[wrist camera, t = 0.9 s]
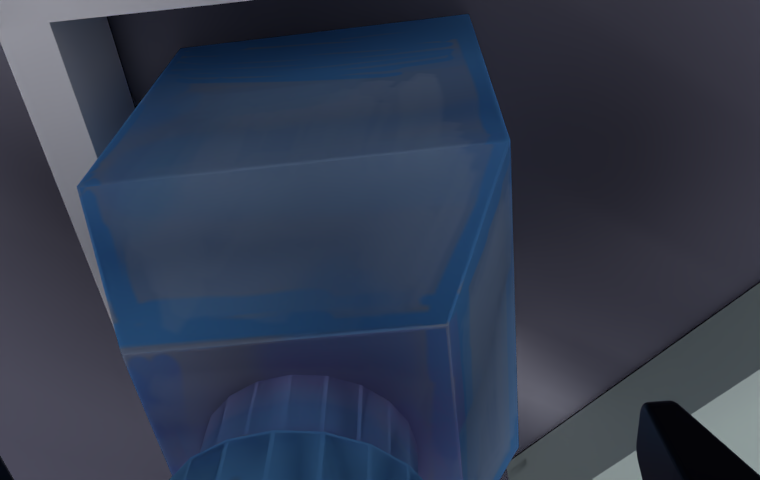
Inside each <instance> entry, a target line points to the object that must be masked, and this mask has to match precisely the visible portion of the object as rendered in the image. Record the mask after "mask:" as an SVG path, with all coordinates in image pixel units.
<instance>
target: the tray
mask: <svg viewBox="0 0 760 480" xmlns="http://www.w3.org/2000/svg"><path fill="white" fill-rule="evenodd" d="M654 401H674V402H676V403H678V404H679V405H680V406H681V407H682V408H684V409H685V410H686V411H687V412H688V413H689V414H690V415H692V416H693V417H694V418H695V419H696V420H697V421H698V422H700V423H701V424H702V425H703V426H704V427H705V428H706V429H708V430H709V431H710V432H711V433H712V434H713V435H714V436H716V437H717V438H718V439H719V440H720V441H721V442H722V443H724V444H725V445H726V446H727V447H728V448H729V449H730V450H732V451H733V452H734V453H735V454H736V455H737V456H738V457H740V458H741V459H742V460H743V461H744V462H745V463H746V464H748V465H749V466H750V467H751V468H752V469H753V470H754V471H756V472H757V473H758V474H759V475H760V283H759V284H757V285H756V286H755V287H753V288H752V289H750V290H749V291H748V292H746V293H745V294H743V295H742V296H741V297H739V298H738V299H736V300H735V301H734V302H732V303H731V304H729V305H728V306H727V307H725V308H724V309H722V310H721V311H720V312H718V313H717V314H715V315H714V316H713V317H711V318H710V319H708V320H707V321H706V322H704V323H703V324H701V325H700V326H699V327H697V328H696V329H694V330H693V331H692V332H690V333H689V334H687V335H686V336H685V337H683V338H682V339H680V340H679V341H678V342H676V343H675V344H673V345H672V346H670V347H669V348H668V349H666V350H665V351H663V352H662V353H661V354H659V355H658V356H656V357H655V358H654V359H652V360H651V361H649V362H648V363H647V364H645V365H644V366H642V367H641V368H640V369H638V370H637V371H635V372H634V373H633V374H631V375H630V376H628V377H627V378H626V379H624V380H623V381H621V382H620V383H619V384H617V385H616V386H614V387H613V388H612V389H610V390H609V391H607V392H606V393H605V394H603V395H602V396H600V397H599V398H598V399H596V400H595V401H593V402H592V403H591V404H589V405H588V406H586V407H585V408H584V409H582V410H581V411H579V412H578V413H577V414H575V415H574V416H572V417H571V418H570V419H568V420H567V421H565V422H564V423H563V424H561V425H560V426H558V427H557V428H556V429H554V430H553V431H551V432H550V433H549V434H547V435H546V436H544V437H543V438H542V439H540V440H539V441H537V442H536V443H535V444H533V445H532V446H530V447H529V448H528V449H526V450H525V451H523V452H522V453H521V454H519V455H518V456H516V457H515V458H514V459H512V460H511V461H510V463H509V465H508V466H507V474H508V479H509V480H642V476H641V472H640V468H639V464H638V459H637V452H636V441H637V433H638V425H639V417H640V410H641V407H642V405H643V404H644V403H646V402H654Z"/></svg>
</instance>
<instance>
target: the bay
mask: <svg viewBox="0 0 760 480" xmlns="http://www.w3.org/2000/svg"><path fill="white" fill-rule="evenodd" d="M242 1H252V0H0V43H1V45H2V48H3V50H4V53H5V55H6V58H7V60H8V63H9V65H10V68H11V70H12V73H13V75H14V78H15V81H16V83H17V86H18V88H19V91H20V93H21V96H22V98H23V101H24V103H25V106H26V108H27V111H28V113H29V116H30V118H31V121H32V123H33V126H34V128H35V131H36V133H37V136H38V138H39V141H40V143H41V146H42V148H43V151H44V153H45V156H46V159H47V161H48V164H49V166H50V169H51V171H52V174H53V176H54V179H55V181H56V184H57V186H58V189H59V191H60V194H61V196H62V199H63V201H64V204H65V206H66V209H67V211H68V214H69V216H70V219H71V221H72V224H73V226H74V229H75V231H76V234H77V236H78V239H79V242H80V244H81V247H82V249H83V252H84V254H85V257H86V259H87V262H88V264H89V267H90V269H91V272H92V274H93V277H94V279H95V282H96V284H97V287H98V289H99V292H100V294H101V297H102V299H103V302H104V304H105V307H106V309H107V312H108V314H109V317H110V320H111V322H112V325H113V321H112V317H111V314H110V310H109V306H108V302H107V299H106V295H105V291H104V287H103V284H102V280H101V276H100V272H99V269H98V265H97V261H96V257H95V254H94V250H93V246H92V242H91V239H90V235H89V231H88V227H87V224H86V220H85V216H84V212H83V209H82V205H81V201H80V197H79V194H78V190H77V185H78V184H79V183H80V181H81V180H82V179H83V177H84V176H85V175H86V173H87V172H88V171H89V169H90V168H91V167H92V165H93V164H94V163H95V161H96V160H97V159H98V157H99V156H100V155H101V154H102V152H103V151H104V150H105V148H106V147H107V146H108V144H109V143H110V142H111V140H112V139H113V138H114V136H115V135H116V134H117V132H118V131H119V130H120V128H121V127H122V126H123V124H124V123H125V122H126V120H127V119H128V118H129V116H130V115H131V114H132V112H133V111H134V110H135V107H134V104H133V100H132V97H131V94H130V91H129V88H128V84H127V81H126V78H125V75H124V72H123V68H122V65H121V62H120V59H119V55H118V52H117V49H116V46H115V43H114V39H113V36H112V33H111V30H110V27H109V23H108V20H107V17H106V16H113V15H123V14H132V13H141V12H150V11H159V10H169V9H178V8H187V7H196V6H206V5H215V4H224V3H233V2H242ZM113 327H114V325H113ZM114 330H115V329H114Z"/></svg>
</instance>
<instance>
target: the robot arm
mask: <svg viewBox="0 0 760 480" xmlns="http://www.w3.org/2000/svg"><path fill="white" fill-rule="evenodd" d="M636 452H637V459H638V464H639V468H640V472H641V476H642V480H760V475H759V474H758V473H757V472H756V471H754V470H753V469H752V468H751V467H750V466H749V465H748V464H746V463H745V462H744V461H743V460H742V459H741V458H740V457H738V456H737V455H736V454H735V453H734V452H733V451H732V450H730V449H729V448H728V447H727V446H726V445H725V444H724V443H722V442H721V441H720V440H719V439H718V438H717V437H716V436H714V435H713V434H712V433H711V432H710V431H709V430H708V429H706V428H705V427H704V426H703V425H702V424H701V423H700V422H698V421H697V420H696V419H695V418H694V417H693V416H692V415H690V414H689V413H688V412H687V411H686V410H685V409H684V408H682V407H681V406H680V405H679V404H678V403H676V402H674V401H654V402H646V403H644V404H643V405H642V407H641V410H640V417H639V425H638V433H637V441H636ZM0 480H14V479H13V477H12V475H11V474H10V472H9V470H8V468H7V467H6V465H5V463H4V461H3V460H2V458H1V456H0Z"/></svg>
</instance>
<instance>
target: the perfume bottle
mask: <svg viewBox="0 0 760 480" xmlns="http://www.w3.org/2000/svg"><path fill="white" fill-rule="evenodd" d="M77 190H78V194H79V197H80V201H81V205H82V209H83V212H84V216H85V220H86V224H87V227H88V231H89V235H90V239H91V242H92V246H93V250H94V254H95V257H96V261H97V265H98V269H99V272H100V276H101V280H102V284H103V287H104V291H105V295H106V299H107V302H108V306H109V310H110V314H111V317H112V321H113V325H114V329H115V332H116V336H117V340H118V344H119V347H120V351H121V355H122V357H123V360H124V362H125V364H126V367H127V369H128V372H129V374H130V376H131V379H132V381H133V383H134V386H135V388H136V391H137V393H138V395H139V398H140V400H141V403H142V405H143V407H144V410H145V412H146V414H147V417H148V419H149V422H150V424H151V426H152V429H153V431H154V434H155V436H156V438H157V441H158V443H159V445H160V448H161V450H162V453H163V455H164V457H165V460H166V462H167V464H168V467H169V469H170V472H171V474H172V477H171V478H170V479H169V480H500V478H501V476H502V475H503V473H504V471H505V470H506V468H507V466H508V465H509V463H510V461H511V459H512V458H513V456H514V454H515V453H516V451H517V449H518V448H519V437H518V401H517V364H516V327H515V290H514V254H513V217H512V180H511V143H510V138H509V135H508V132H507V129H506V126H505V123H504V119H503V116H502V113H501V110H500V107H499V104H498V101H497V98H496V95H495V92H494V89H493V86H492V83H491V80H490V77H489V74H488V71H487V68H486V65H485V62H484V59H483V56H482V53H481V50H480V47H479V44H478V41H477V38H476V35H475V32H474V28H473V25H472V22H471V19H470V16H469V14H464V15H455V16H447V17H438V18H430V19H422V20H413V21H405V22H397V23H388V24H380V25H372V26H363V27H355V28H347V29H338V30H330V31H321V32H313V33H305V34H296V35H288V36H280V37H271V38H263V39H255V40H246V41H238V42H230V43H221V44H213V45H204V46H196V47H188V48H180V50H179V51H178V52H177V54H176V55H175V56H174V58H173V59H172V60H171V62H170V63H169V64H168V66H167V67H166V68H165V70H164V71H163V72H162V74H161V75H160V76H159V78H158V79H157V80H156V82H155V83H154V84H153V86H152V87H151V88H150V90H149V91H148V92H147V94H146V95H145V96H144V98H143V99H142V100H141V102H140V103H139V104H138V106H137V107H136V108H135V110H134V111H133V112H132V114H131V115H130V116H129V118H128V119H127V120H126V122H125V123H124V124H123V126H122V127H121V128H120V130H119V131H118V132H117V134H116V135H115V136H114V138H113V139H112V140H111V142H110V143H109V144H108V146H107V147H106V148H105V150H104V151H103V152H102V154H101V155H100V156H99V157H98V159H97V160H96V161H95V163H94V164H93V165H92V167H91V168H90V169H89V171H88V172H87V173H86V175H85V176H84V177H83V179H82V180H81V181H80V183H79V184H78V185H77Z"/></svg>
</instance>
